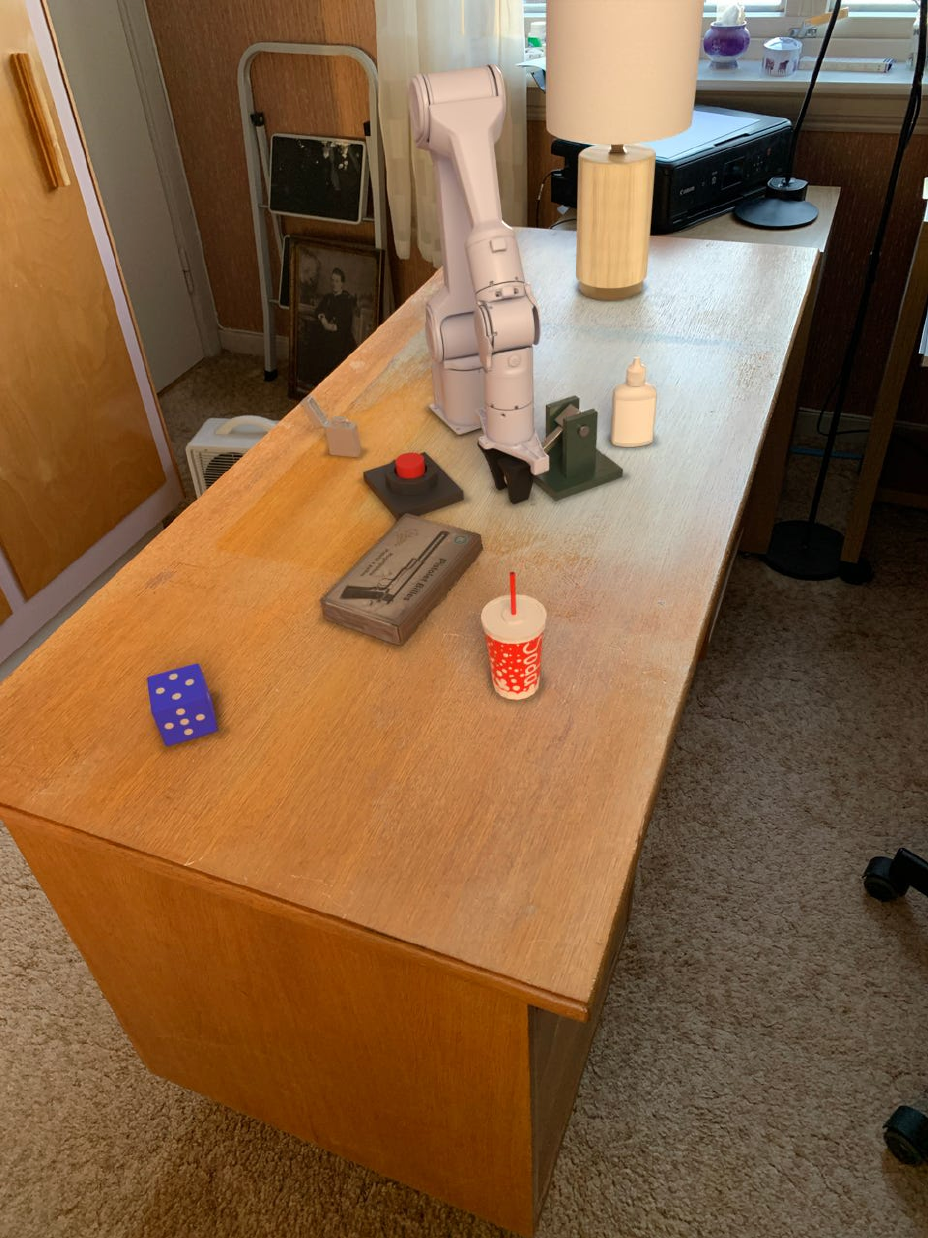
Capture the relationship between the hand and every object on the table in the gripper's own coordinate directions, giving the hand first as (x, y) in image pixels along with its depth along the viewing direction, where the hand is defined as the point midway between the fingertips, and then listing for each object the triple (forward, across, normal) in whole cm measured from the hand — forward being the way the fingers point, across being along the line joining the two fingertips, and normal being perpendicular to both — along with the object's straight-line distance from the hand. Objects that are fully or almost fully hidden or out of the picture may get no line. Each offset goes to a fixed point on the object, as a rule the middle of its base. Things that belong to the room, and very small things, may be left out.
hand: (512, 496), depth 115 cm
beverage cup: (0, +29, -16) cm, 33 cm away
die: (0, +17, -46) cm, 49 cm away
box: (0, +10, -20) cm, 22 cm away
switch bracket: (0, 0, +9) cm, 9 cm away
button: (-3, -7, -10) cm, 13 cm away
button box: (0, -8, -10) cm, 13 cm away
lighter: (0, -22, -15) cm, 27 cm away
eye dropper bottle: (0, -2, +20) cm, 20 cm away
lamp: (-1, -46, +47) cm, 66 cm away
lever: (-4, 0, +5) cm, 7 cm away
